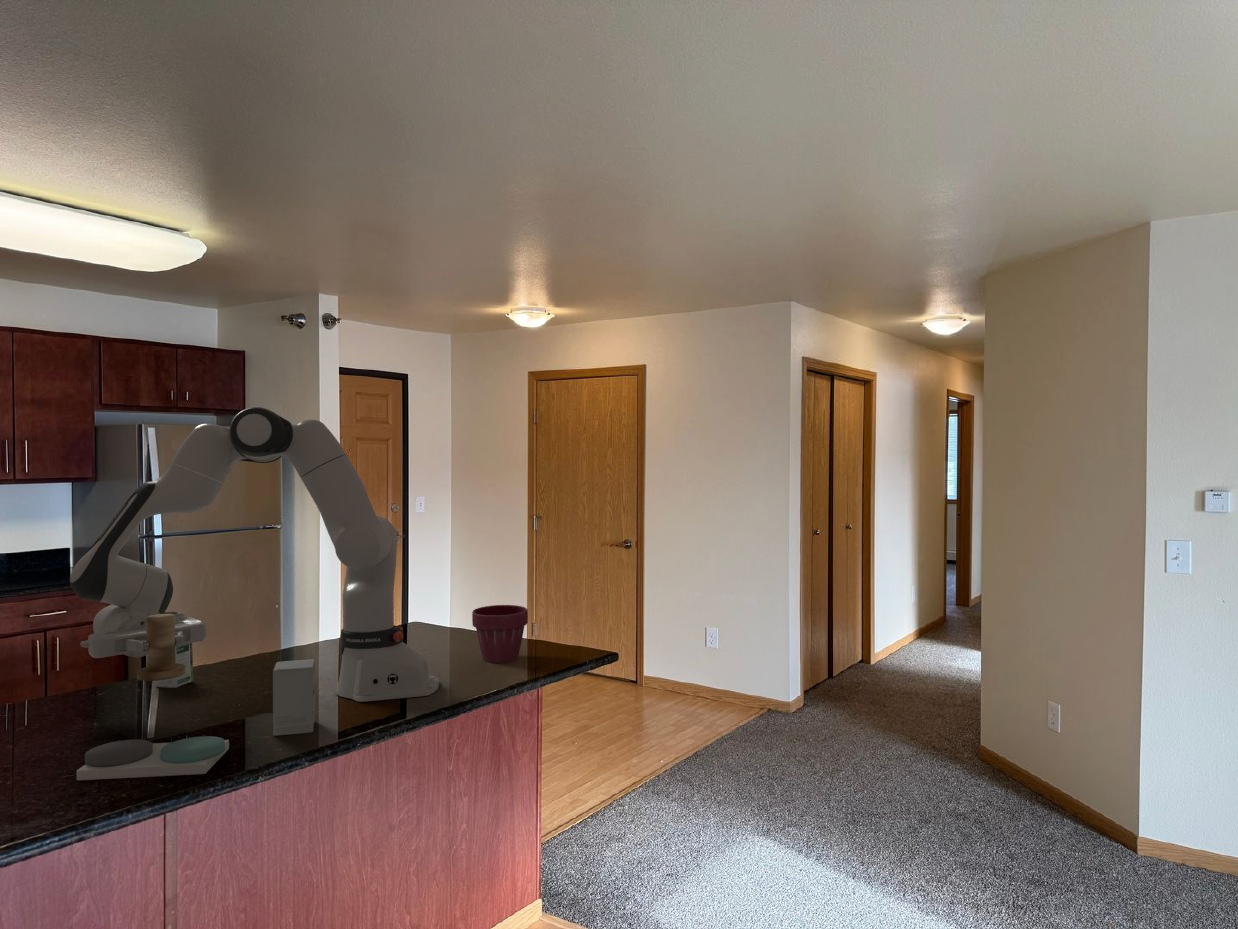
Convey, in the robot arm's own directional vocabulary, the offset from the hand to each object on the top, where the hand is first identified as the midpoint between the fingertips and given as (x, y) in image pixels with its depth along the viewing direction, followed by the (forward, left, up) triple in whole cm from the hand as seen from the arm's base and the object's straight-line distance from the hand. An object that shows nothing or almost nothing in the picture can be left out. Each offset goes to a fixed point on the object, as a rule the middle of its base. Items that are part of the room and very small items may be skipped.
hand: (162, 644), depth 159 cm
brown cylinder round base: (+1, -1, -6) cm, 6 cm away
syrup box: (+13, -39, -18) cm, 44 cm away
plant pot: (-62, -52, -18) cm, 83 cm away
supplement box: (-23, -2, -18) cm, 29 cm away
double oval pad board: (-4, +14, -18) cm, 23 cm away
